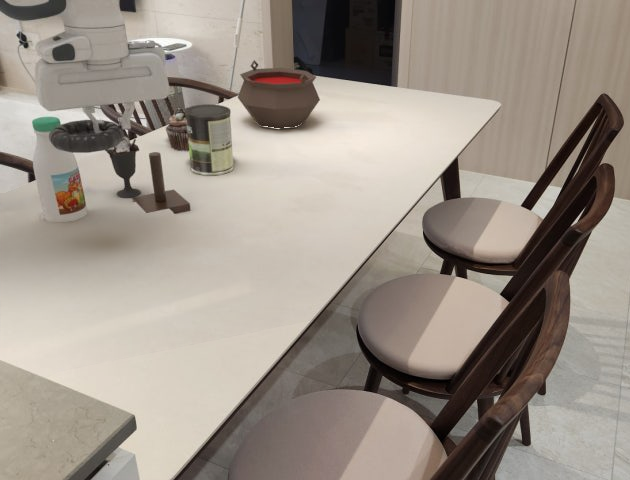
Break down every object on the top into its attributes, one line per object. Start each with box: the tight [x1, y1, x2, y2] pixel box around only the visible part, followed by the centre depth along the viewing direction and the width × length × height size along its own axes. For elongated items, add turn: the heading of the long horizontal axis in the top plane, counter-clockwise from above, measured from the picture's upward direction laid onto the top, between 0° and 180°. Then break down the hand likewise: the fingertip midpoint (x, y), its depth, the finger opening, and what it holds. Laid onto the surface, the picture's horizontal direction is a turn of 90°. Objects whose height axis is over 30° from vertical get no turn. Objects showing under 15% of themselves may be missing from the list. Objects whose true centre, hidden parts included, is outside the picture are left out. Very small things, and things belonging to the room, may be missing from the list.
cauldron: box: [237, 59, 321, 128], centre depth 185 cm, size 24×24×16 cm
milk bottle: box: [31, 116, 88, 223], centre depth 120 cm, size 8×8×20 cm
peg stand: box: [131, 151, 191, 214], centre depth 129 cm, size 9×9×12 cm
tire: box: [49, 119, 125, 154], centre depth 105 cm, size 11×11×3 cm
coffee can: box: [184, 103, 235, 176], centre depth 150 cm, size 10×10×14 cm
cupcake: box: [165, 106, 189, 151], centre depth 164 cm, size 10×10×10 cm
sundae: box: [104, 135, 142, 199], centre depth 134 cm, size 7×7×15 cm
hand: (112, 130), depth 107 cm, fingers closed on tire, 3 cm apart
